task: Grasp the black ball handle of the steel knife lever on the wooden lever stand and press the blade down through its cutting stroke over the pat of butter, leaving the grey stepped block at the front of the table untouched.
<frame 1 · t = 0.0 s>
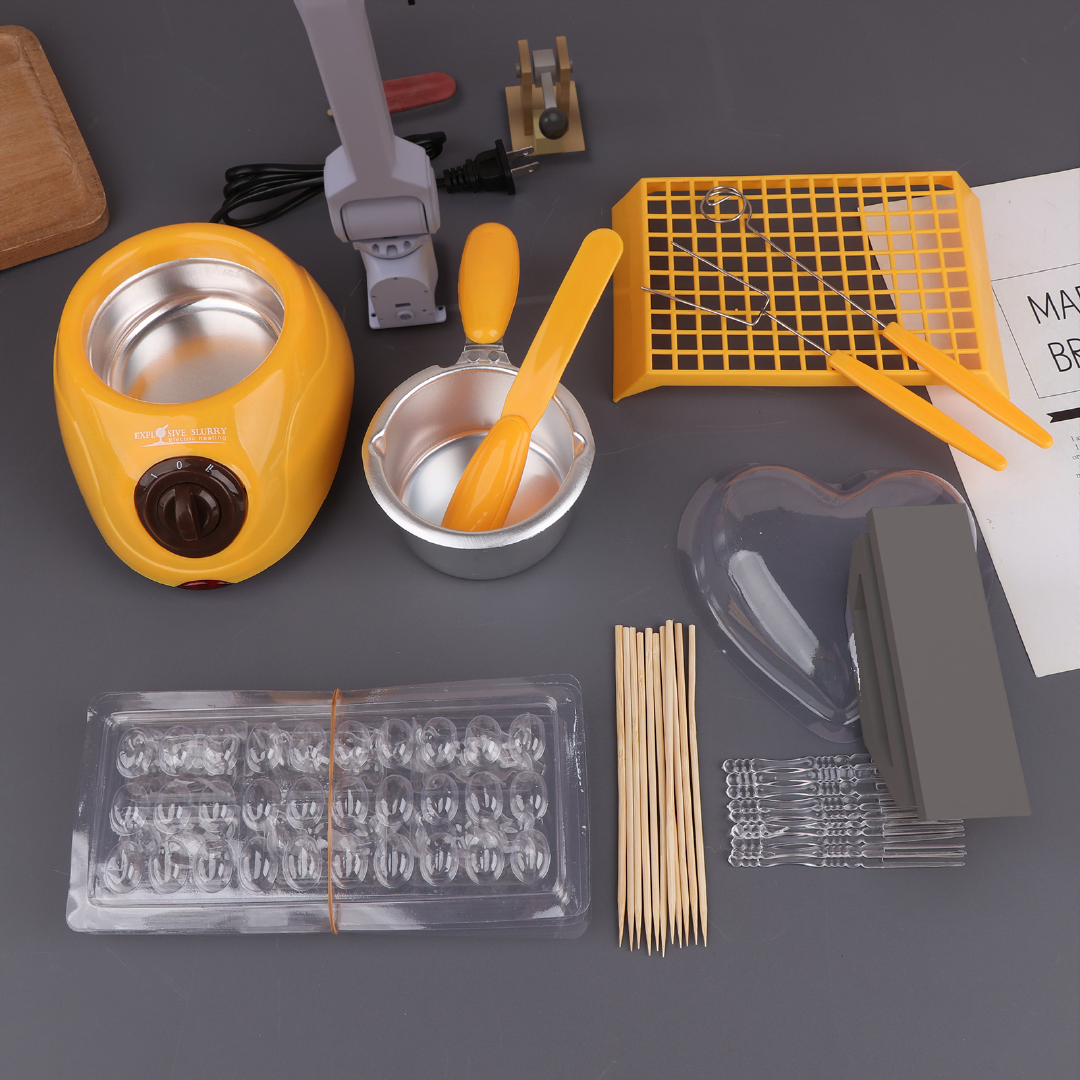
hand: (375, 1, 94), 10 cm above the table, tool pointing down, fingers open, 7 cm apart
grey stepped block: (896, 677, 81), on the table
popsicle: (393, 107, 103), on the table
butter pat: (547, 139, 99), resting on wooden lever stand
wooden lever stand: (544, 126, 101), on the table
knife lever: (548, 95, 92), point 9 cm above the table, hinge at 10.0°
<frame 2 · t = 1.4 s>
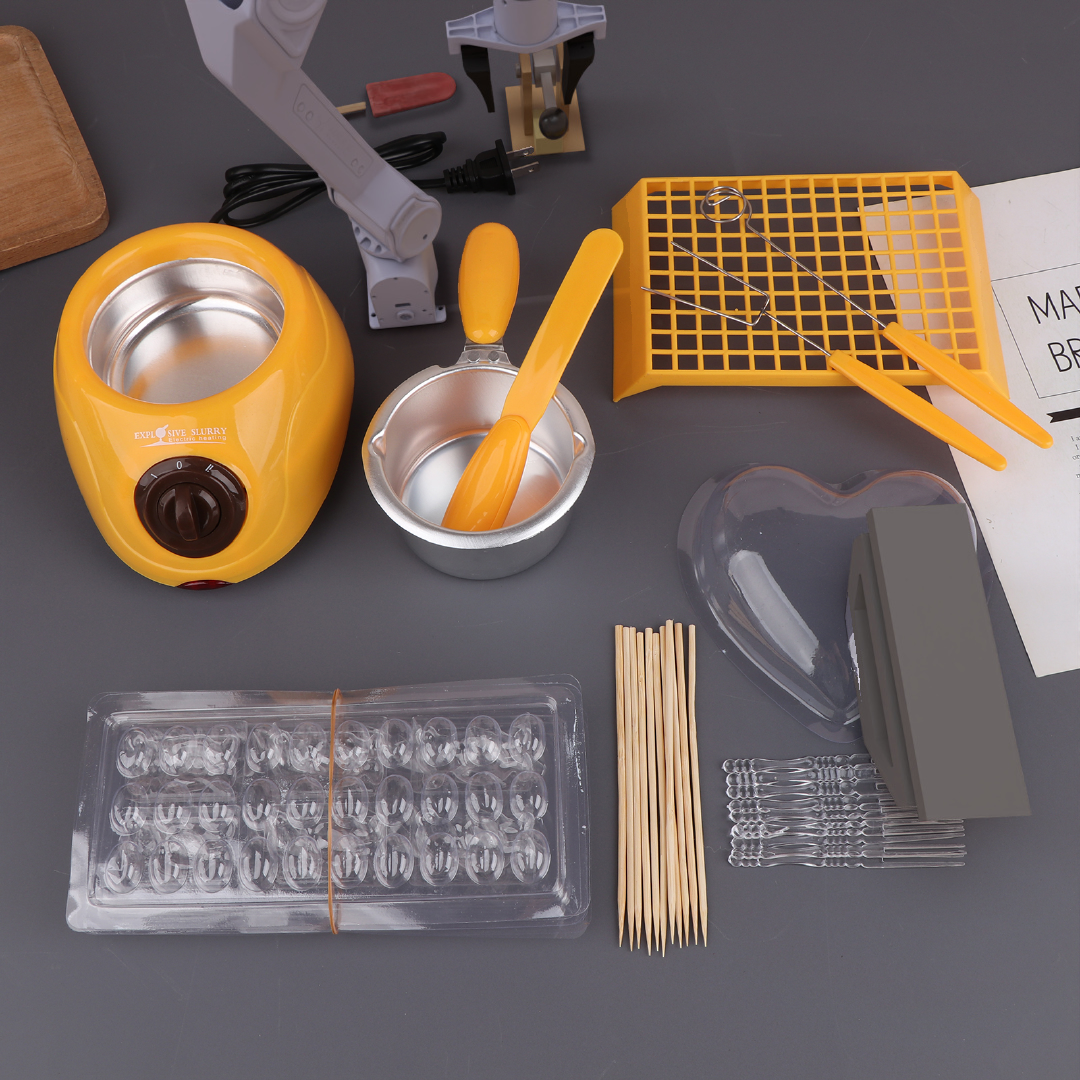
hand: (528, 101, 89), 10 cm above the table, tool pointing down, fingers open, 7 cm apart
nothing on the table moved.
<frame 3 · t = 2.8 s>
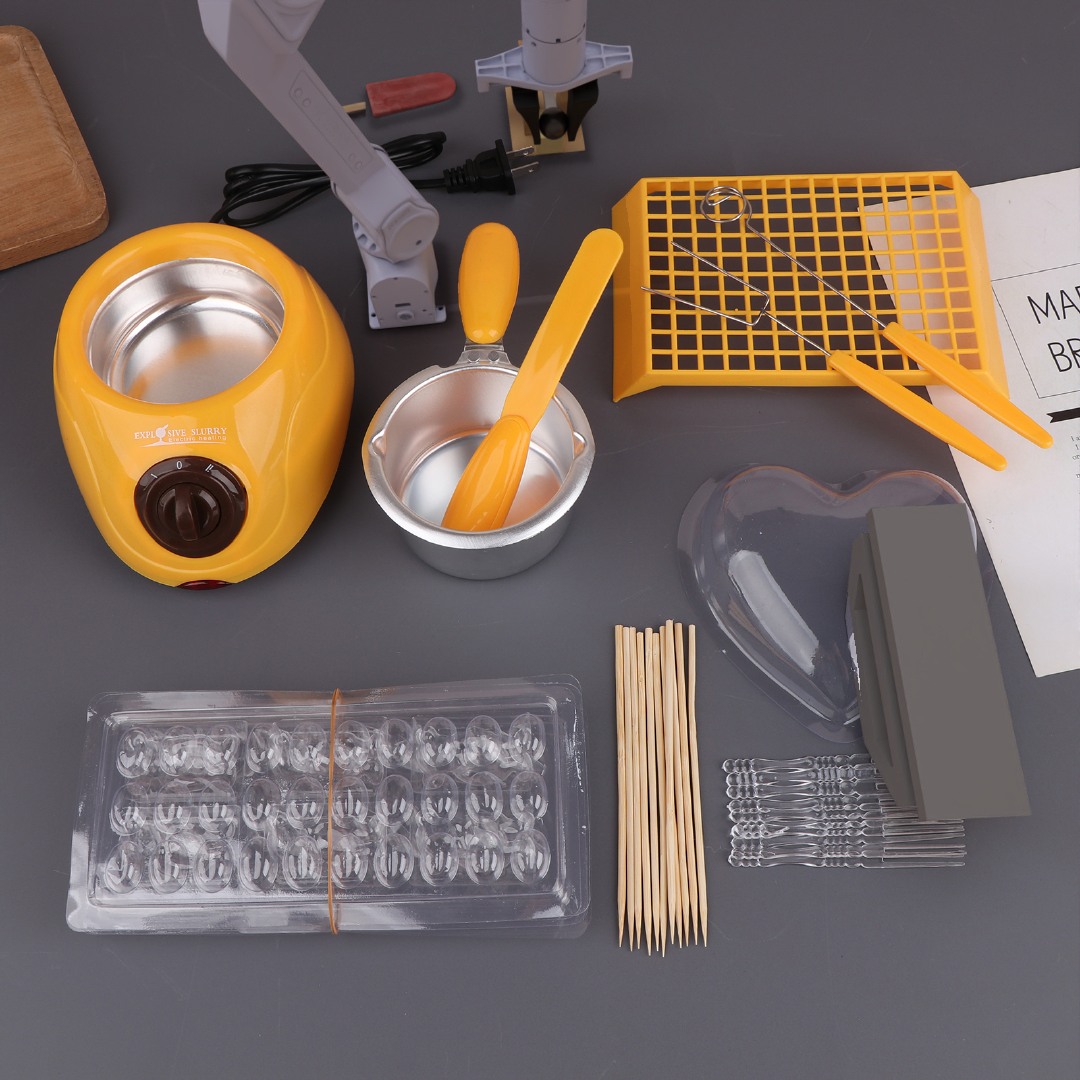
hand: (553, 135, 91), 8 cm above the table, tool pointing down, fingers closed on knife lever, 3 cm apart
knife lever: (548, 95, 92), point 9 cm above the table, hinge at 10.0°, touching gripper
everything else where it was.
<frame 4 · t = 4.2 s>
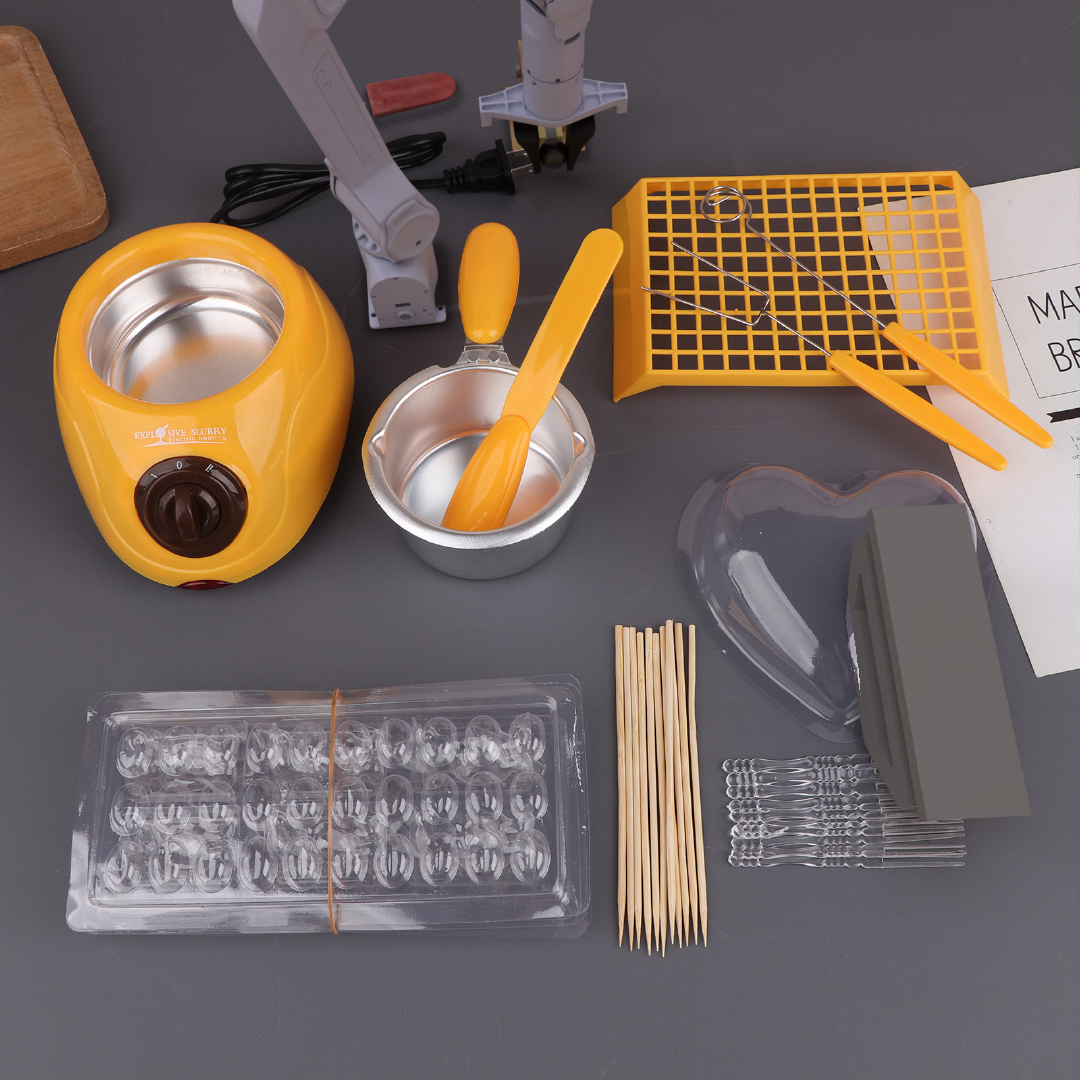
hand: (553, 164, 96), 3 cm above the table, tool pointing down, fingers closed on knife lever, 3 cm apart
knife lever: (548, 111, 94), point 7 cm above the table, hinge at -19.2°, touching gripper
everything else where it was.
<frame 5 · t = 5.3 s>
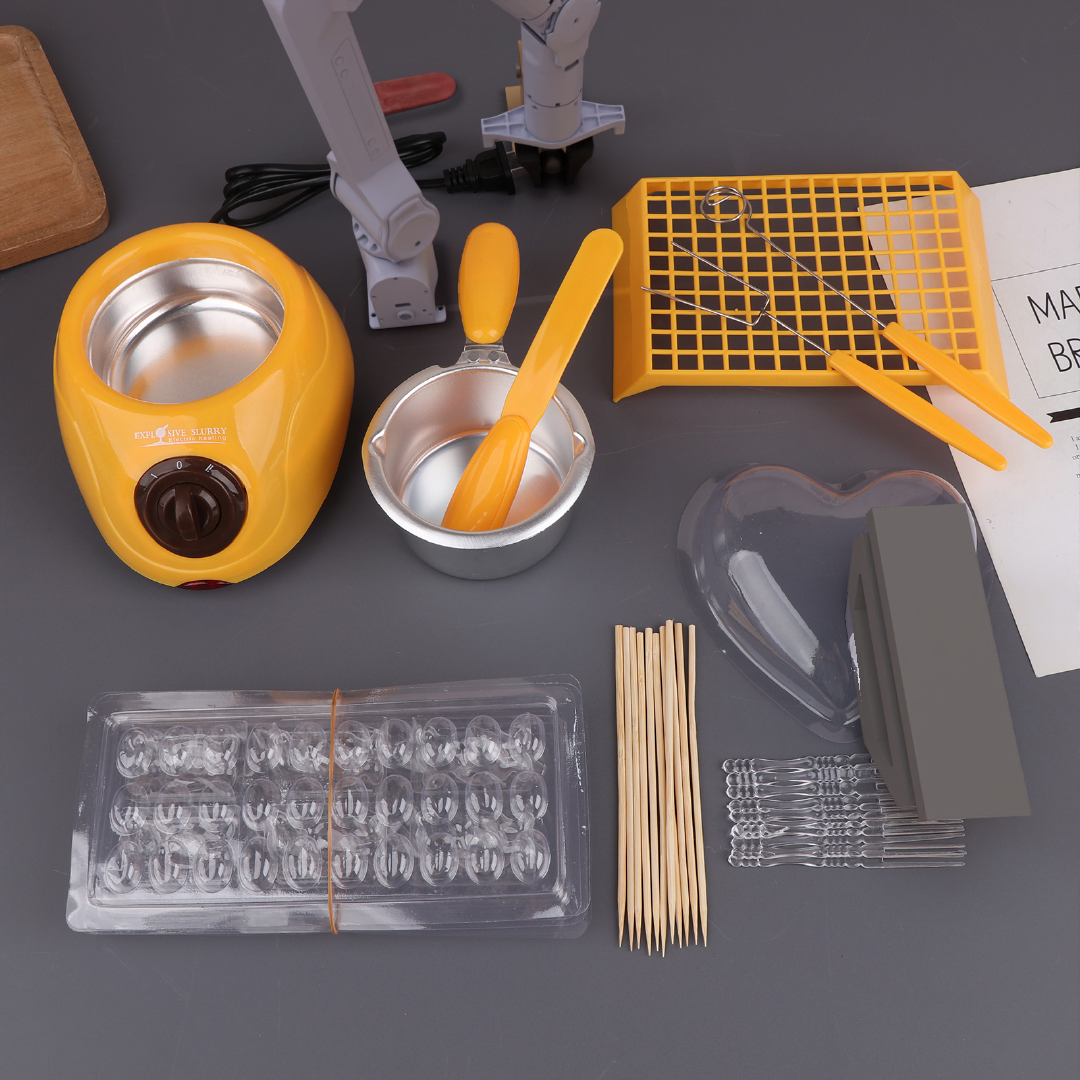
hand: (553, 182, 98), 0 cm above the table, tool pointing down, fingers closed on knife lever, 3 cm apart
knife lever: (548, 114, 95), point 6 cm above the table, hinge at -31.4°, touching gripper
everything else where it was.
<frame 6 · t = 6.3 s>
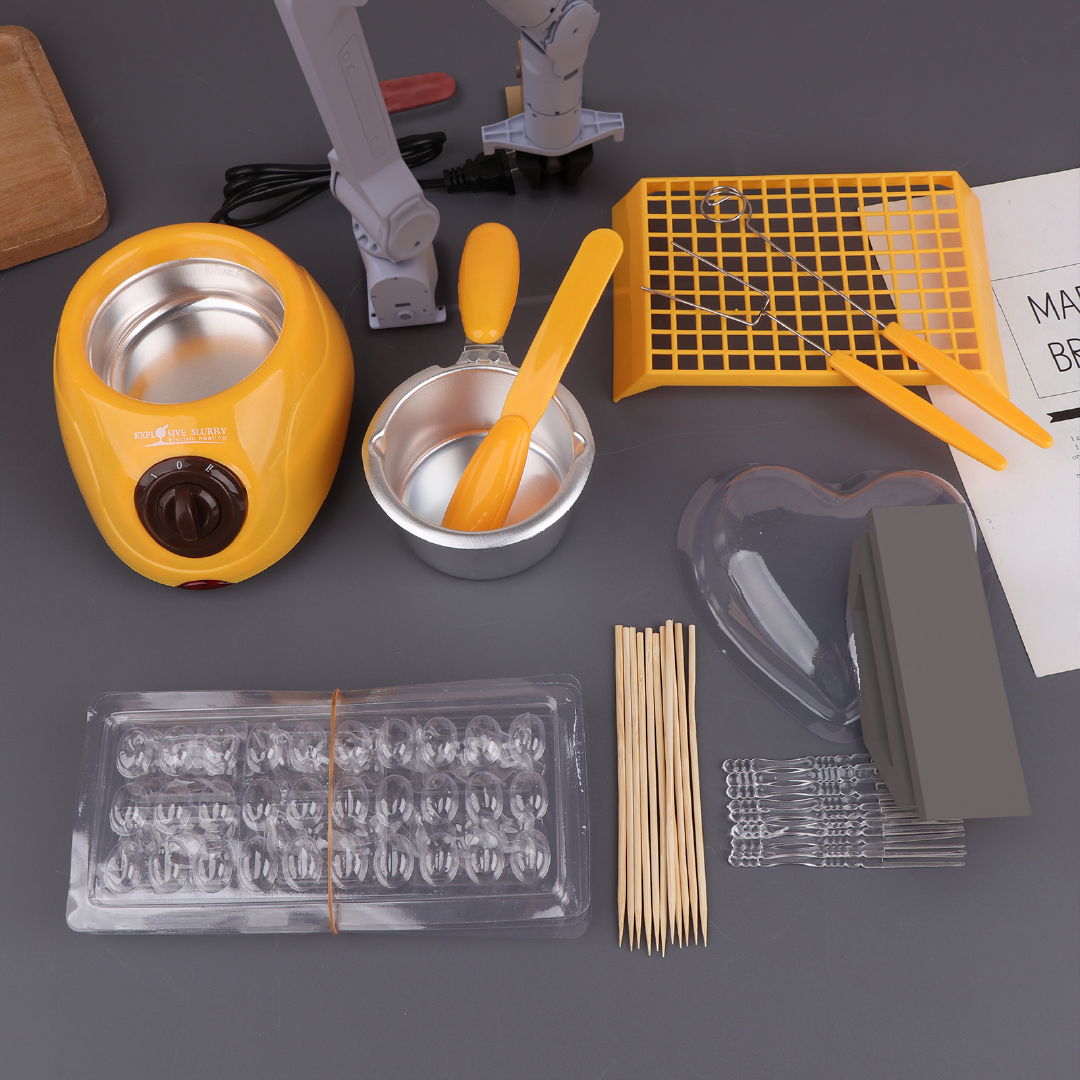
hand: (553, 189, 99), 0 cm above the table, tool pointing down, fingers open, 3 cm apart
knife lever: (548, 114, 94), point 6 cm above the table, hinge at -28.7°, touching gripper
everything else where it was.
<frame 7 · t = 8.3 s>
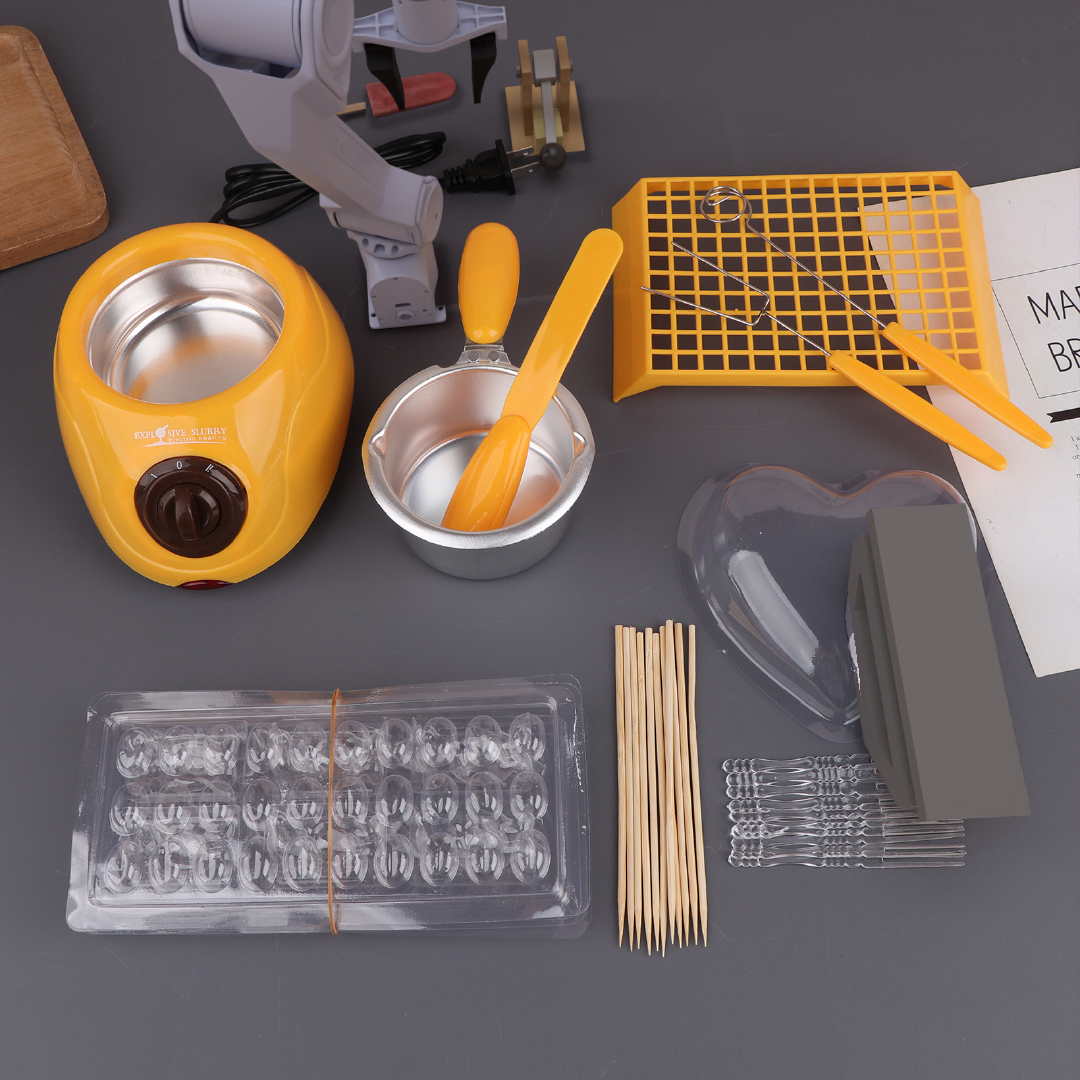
hand: (439, 99, 91), 9 cm above the table, tool pointing down, fingers open, 7 cm apart
knife lever: (548, 113, 94), point 6 cm above the table, hinge at -26.5°
everything else where it was.
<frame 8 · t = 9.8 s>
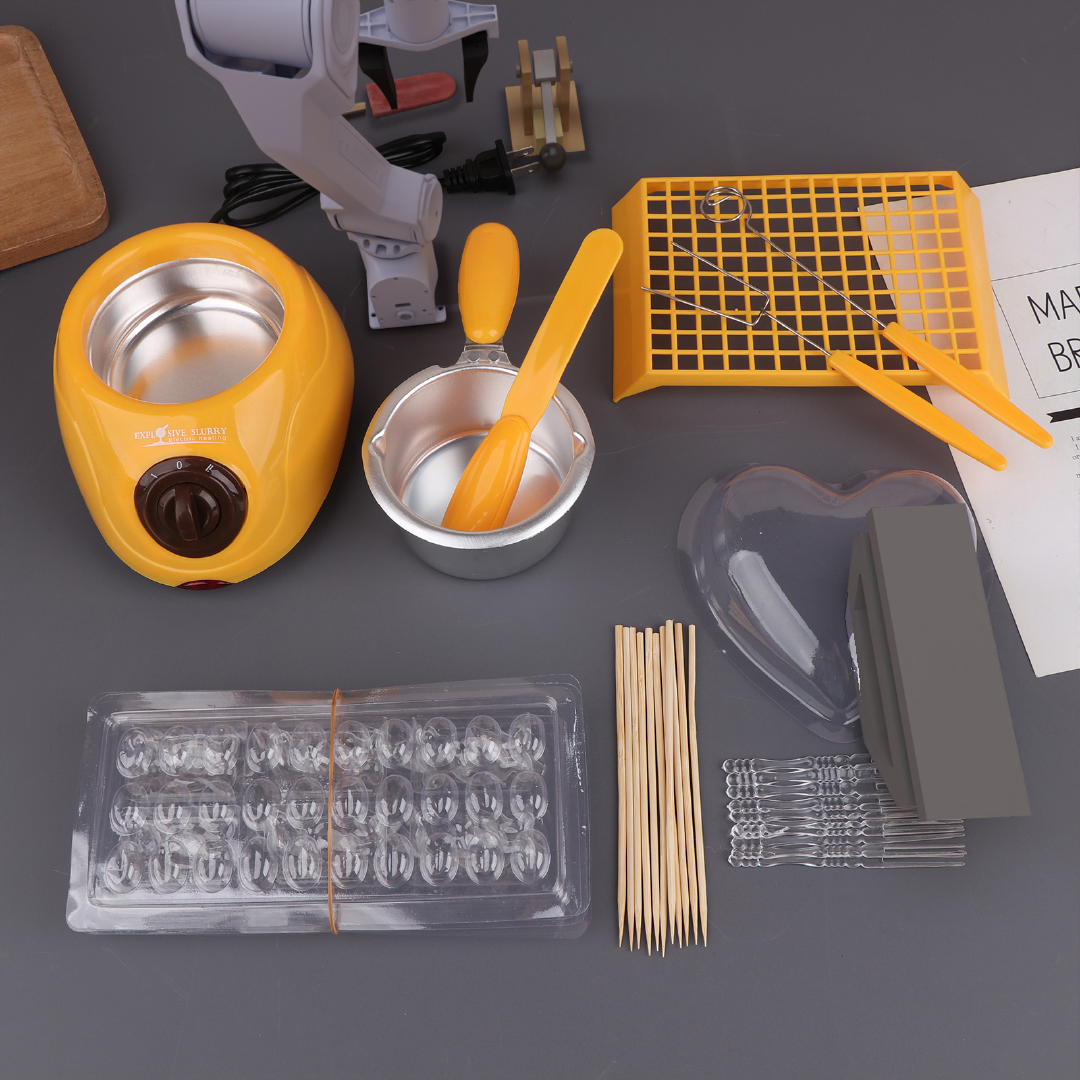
hand: (431, 98, 91), 9 cm above the table, tool pointing down, fingers open, 7 cm apart
nothing on the table moved.
at the end: knife lever at -26° (first picture: +10°); grey stepped block moved 0.2 cm from its start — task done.
